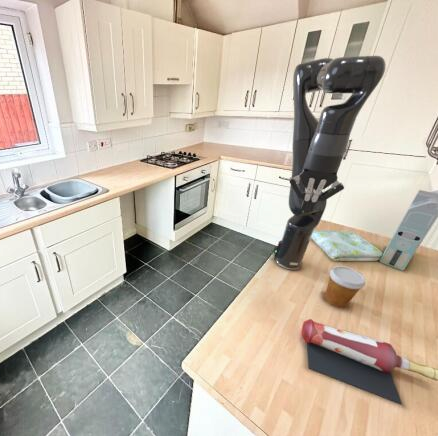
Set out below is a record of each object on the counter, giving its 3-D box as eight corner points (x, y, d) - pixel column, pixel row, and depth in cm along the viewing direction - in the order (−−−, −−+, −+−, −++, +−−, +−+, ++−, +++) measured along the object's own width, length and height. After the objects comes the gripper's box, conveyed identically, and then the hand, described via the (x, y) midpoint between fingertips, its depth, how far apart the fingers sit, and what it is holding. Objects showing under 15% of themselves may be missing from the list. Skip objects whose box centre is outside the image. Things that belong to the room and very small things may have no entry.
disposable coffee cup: (348, 295, 87) (362, 269, 81) (355, 315, 79) (371, 288, 74) (317, 287, 91) (328, 262, 85) (321, 306, 83) (333, 279, 77)
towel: (382, 262, 103) (387, 252, 100) (331, 262, 103) (335, 252, 101) (350, 238, 119) (355, 229, 116) (307, 238, 119) (310, 229, 117)
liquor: (304, 342, 67) (447, 394, 55) (308, 315, 70) (446, 360, 57) (299, 341, 74) (426, 388, 61) (303, 317, 76) (426, 357, 63)
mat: (308, 368, 65) (308, 367, 65) (305, 332, 74) (306, 331, 74) (401, 404, 57) (401, 403, 57) (385, 359, 67) (385, 358, 67)
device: (387, 247, 112) (421, 186, 97) (410, 255, 107) (450, 191, 92) (378, 262, 103) (414, 197, 88) (403, 271, 98) (445, 204, 83)
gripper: (355, 150, 61) (331, 211, 69) (295, 145, 66) (280, 203, 75) (362, 157, 55) (335, 222, 64) (296, 152, 61) (279, 213, 69)
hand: (305, 212), depth 69 cm, fingers closed
